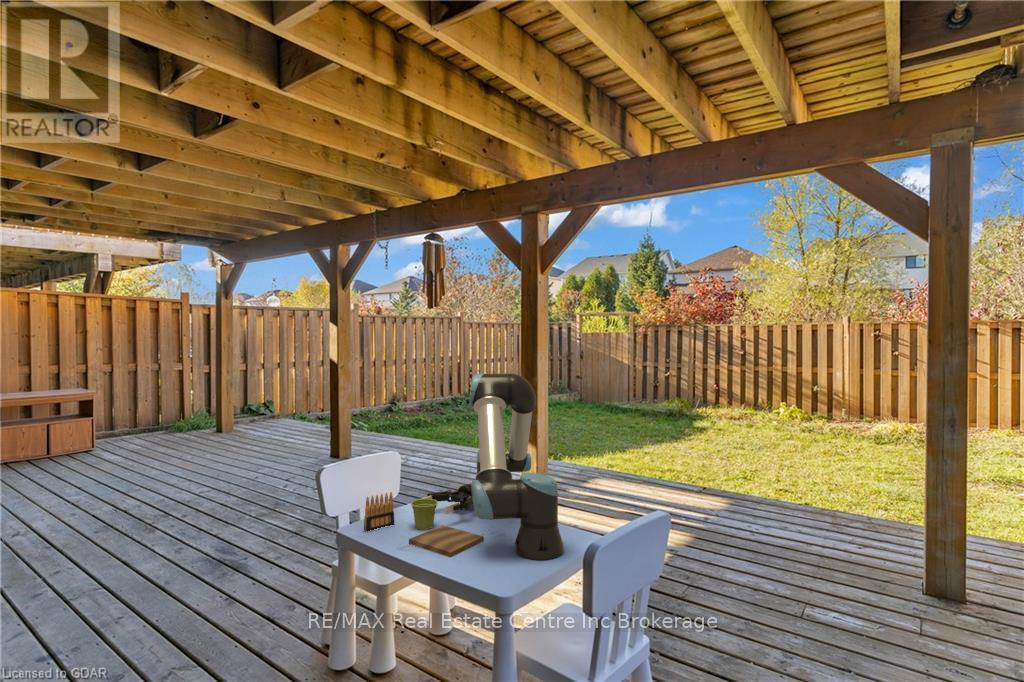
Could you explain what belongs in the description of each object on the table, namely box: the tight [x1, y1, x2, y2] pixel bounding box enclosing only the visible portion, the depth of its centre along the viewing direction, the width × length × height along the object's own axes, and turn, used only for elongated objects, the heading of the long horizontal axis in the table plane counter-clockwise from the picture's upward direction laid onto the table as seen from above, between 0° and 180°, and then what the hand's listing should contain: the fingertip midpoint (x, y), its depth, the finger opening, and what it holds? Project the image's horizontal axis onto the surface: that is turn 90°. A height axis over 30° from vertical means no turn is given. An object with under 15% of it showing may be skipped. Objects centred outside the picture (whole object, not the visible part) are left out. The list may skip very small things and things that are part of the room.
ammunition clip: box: [363, 491, 395, 532], centre depth 182 cm, size 11×2×12 cm, turn 130°
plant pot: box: [410, 498, 439, 531], centre depth 183 cm, size 9×9×9 cm
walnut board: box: [408, 525, 485, 558], centre depth 169 cm, size 18×16×2 cm
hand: (431, 506), depth 187 cm, fingers open, 13 cm apart
